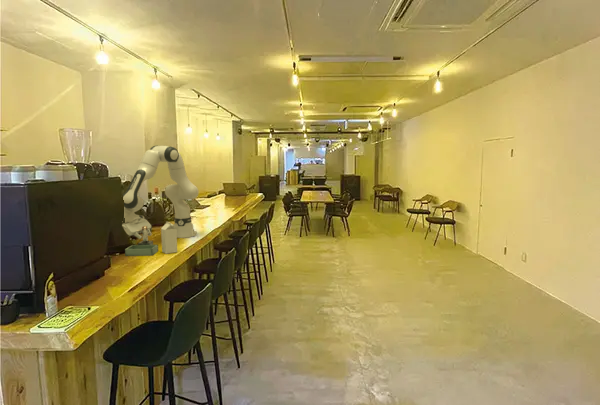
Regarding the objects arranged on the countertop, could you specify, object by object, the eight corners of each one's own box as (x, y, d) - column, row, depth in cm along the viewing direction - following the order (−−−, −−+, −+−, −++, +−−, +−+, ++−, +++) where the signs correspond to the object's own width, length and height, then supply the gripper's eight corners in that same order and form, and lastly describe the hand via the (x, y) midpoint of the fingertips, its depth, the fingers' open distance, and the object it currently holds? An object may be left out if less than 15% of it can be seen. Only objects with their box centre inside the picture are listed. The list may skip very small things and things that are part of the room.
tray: (132, 251, 233) (131, 245, 232) (158, 250, 234) (157, 244, 233) (125, 255, 222) (124, 249, 221) (152, 255, 223) (152, 249, 222)
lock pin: (144, 249, 238) (143, 226, 237) (149, 248, 239) (147, 226, 237) (142, 250, 235) (141, 227, 234) (147, 250, 236) (146, 227, 234)
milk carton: (166, 254, 226) (164, 223, 224) (162, 251, 232) (160, 222, 229) (177, 252, 231) (176, 222, 228) (173, 250, 236) (172, 220, 234)
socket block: (142, 248, 240) (141, 240, 240) (153, 248, 241) (152, 240, 240) (138, 251, 233) (137, 243, 233) (149, 250, 234) (149, 243, 233)
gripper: (123, 220, 226) (138, 236, 225) (144, 215, 246) (158, 230, 245) (117, 227, 228) (132, 243, 227) (139, 221, 247) (152, 236, 246)
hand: (146, 236), depth 236 cm, fingers open, 8 cm apart
